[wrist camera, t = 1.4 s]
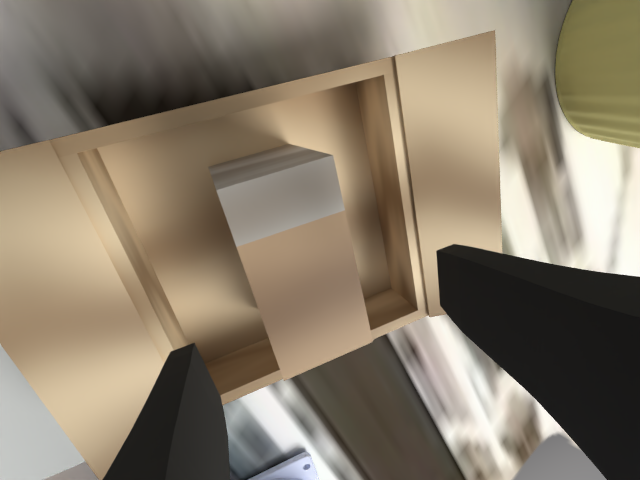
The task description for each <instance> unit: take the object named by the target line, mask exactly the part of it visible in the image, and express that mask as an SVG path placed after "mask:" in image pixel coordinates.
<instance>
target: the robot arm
mask: <svg viewBox="0 0 640 480" xmlns="http://www.w3.org/2000/svg"><path fill="white" fill-rule="evenodd" d="M436 255H437V269H438V284H439V298H440V306H441V307H442V308H443V310H444V311H445V312H446V313H447V315H448V316H449V317H450V318H451V319H452V321H453V322H454V323H455V324H456V325H457V326H458V327H459V329H460V330H461V331H462V332H463V333H464V334H465V335H466V336H467V337H468V338H470V339H471V340H472V341H473V342H474V343H475V344H476V345H477V346H478V347H479V348H480V349H482V350H483V351H484V352H485V353H486V354H487V355H488V356H489V357H490V358H492V359H493V360H494V361H495V362H496V363H497V364H498V365H499V366H500V367H502V368H503V369H504V370H505V371H506V372H507V373H508V374H509V375H510V376H512V377H513V378H514V379H515V380H516V381H517V382H518V383H519V384H520V385H521V386H523V387H524V388H525V389H526V390H527V391H528V392H529V393H530V394H531V395H532V396H533V397H534V398H535V399H536V400H537V401H538V402H539V403H540V404H541V405H542V407H543V408H544V409H545V410H546V411H547V412H548V413H549V414H550V415H551V416H552V417H553V418H554V420H555V421H556V422H557V423H558V424H559V425H560V426H561V427H562V428H563V429H564V430H565V432H566V433H567V434H568V435H569V436H570V437H571V438H572V440H573V441H574V442H575V443H576V444H577V445H578V446H579V448H580V449H581V450H582V451H583V452H584V453H585V454H586V456H588V458H589V459H590V460H591V461H592V462H593V464H594V465H595V466H596V467H597V468H598V469H599V471H600V472H601V473H602V474H603V475H604V477H605V478H606V479H607V480H640V277H636V276H628V275H619V274H611V273H603V272H596V271H589V270H582V269H577V268H571V267H565V266H560V265H554V264H549V263H544V262H539V261H534V260H529V259H525V258H520V257H516V256H511V255H507V254H502V253H498V252H493V251H489V250H484V249H480V248H475V247H470V246H464V245H458V244H452V245H450V246H447V247H444V248H442V249H439V250H437V251H436ZM103 480H230V467H229V451H228V435H227V429H226V423H225V417H224V411H223V406H222V401H221V396H220V394H219V392H218V390H217V388H216V386H215V384H214V382H213V380H212V378H211V376H210V374H209V372H208V369H207V367H206V365H205V363H204V361H203V359H202V357H201V355H200V353H199V351H198V349H197V347H196V345H195V343H192V344H189V345H187V346H184V347H181V348H179V349H176V350H174V351H171V352H170V354H169V355H168V357H167V359H166V361H165V363H164V365H163V367H162V369H161V371H160V374H159V376H158V378H157V380H156V382H155V384H154V386H153V388H152V390H151V392H150V394H149V396H148V398H147V400H146V402H145V404H144V406H143V408H142V410H141V412H140V414H139V416H138V418H137V420H136V422H135V423H134V425H133V427H132V429H131V431H130V433H129V435H128V437H127V438H126V440H125V442H124V443H123V445H122V447H121V449H120V450H119V452H118V454H117V456H116V457H115V459H114V461H113V463H112V464H111V466H110V468H109V470H108V471H107V473H106V475H105V476H104V478H103ZM248 480H319V478H318V475H317V472H316V469H315V467H314V464H313V461H312V458H311V455H310V454H309V453H308V452H303V453H301V454H299V455H297V456H295V457H293V458H291V459H289V460H287V461H284V462H282V463H280V464H278V465H276V466H274V467H272V468H270V469H268V470H266V471H264V472H262V473H260V474H258V475H256V476H254V477H252V478H250V479H248Z"/></svg>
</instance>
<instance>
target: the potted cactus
mask: <svg viewBox="0 0 640 480" xmlns="http://www.w3.org/2000/svg"><path fill="white" fill-rule="evenodd" d="M555 79H556V89H557V95H558V99H559V102H560V106H561V108H562V111H563V113H564V115H565V117H566V118H567V120H568V122H569V123H570V124H571V125H572V126H573V127H574V128H575V129H576V130H577V131H578V132H580V133H581V134H583V135H585V136H588V137H590V138H593V139H598V140H601V141H606V142H611V143H616V144H621V145H626V146H631V147H636V148H640V0H572V3H571V5H570V7H569V9H568V12H567V14H566V17H565V19H564V23H563V26H562V29H561V33H560V36H559V41H558V47H557V53H556V65H555Z"/></svg>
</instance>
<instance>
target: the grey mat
mask: <svg viewBox="0 0 640 480" xmlns="http://www.w3.org/2000/svg"><path fill="white" fill-rule="evenodd" d="M83 462H85V460H84V458H83V457H82V456H81V454H80V453H79V452H78V450H77V449H76V447H75V446H74V445H73V443H72V442H71V441H70V439H69V438H68V436H67V435H66V434H65V432H64V431H63V430H62V428H61V427H60V425H59V424H58V423H57V421H56V420H55V419H54V417H53V416H52V414H51V413H50V412H49V410H48V409H47V408H46V406H45V405H44V403H43V402H42V401H41V399H40V398H39V397H38V395H37V394H36V392H35V391H34V390H33V388H32V387H31V386H30V384H29V383H28V381H27V380H26V379H25V377H24V376H23V375H22V373H21V372H20V370H19V369H18V368H17V366H16V365H15V364H14V362H13V361H12V359H11V358H10V357H9V355H8V354H7V353H6V351H5V350H4V349H3V347H2V346H1V344H0V480H44V479H46V478H49V477H51V476H53V475H56V474H58V473H60V472H62V471H65V470H67V469H69V468H72V467H74V466H76V465H79V464H81V463H83Z"/></svg>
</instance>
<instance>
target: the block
mask: <svg viewBox="0 0 640 480" xmlns="http://www.w3.org/2000/svg"><path fill="white" fill-rule="evenodd" d="M208 168H209V171H210V174H211V177H212V179H213V182H214V185H215V188H216V191H217V194H218V196H219V199H220V202H221V205H222V208H223V210H224V213H225V216H226V219H227V222H228V225H229V227H230V230H231V233H232V236H233V239H234V241H235V244H236V247H237V250H238V253H239V256H240V258H241V261H242V264H243V267H244V270H245V272H246V275H247V278H248V281H249V284H250V286H251V289H252V292H253V295H254V298H255V301H256V303H257V306H258V309H259V312H260V315H261V317H262V320H263V323H264V326H265V329H266V332H267V334H268V337H269V340H270V343H271V346H272V348H273V351H274V354H275V357H276V360H277V363H278V365H279V368H280V371H281V374H282V377H283V379H284V381H285V380H287V379H289V378H291V377H294V376H296V375H298V374H300V373H303V372H305V371H307V370H310V369H312V368H314V367H316V366H319V365H321V364H323V363H326V362H328V361H330V360H332V359H335V358H337V357H339V356H342V355H344V354H346V353H348V352H351V351H353V350H355V349H357V348H360V347H362V346H364V345H367V344H369V343H371V342H373V339H372V335H371V330H370V325H369V321H368V316H367V311H366V307H365V302H364V297H363V293H362V288H361V283H360V279H359V274H358V269H357V264H356V260H355V255H354V250H353V246H352V241H351V236H350V232H349V227H348V222H347V218H346V213H345V208H344V204H343V199H342V194H341V190H340V185H339V180H338V176H337V171H336V166H335V162H334V157H333V155H331V154H327V153H323V152H319V151H315V150H311V149H308V148H304V147H300V146H296V145H292V144H287V145H283V146H280V147H276V148H273V149H269V150H266V151H262V152H259V153H255V154H252V155H248V156H245V157H241V158H238V159H234V160H230V161H227V162H223V163H220V164H216V165H213V166H209V167H208Z"/></svg>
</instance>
